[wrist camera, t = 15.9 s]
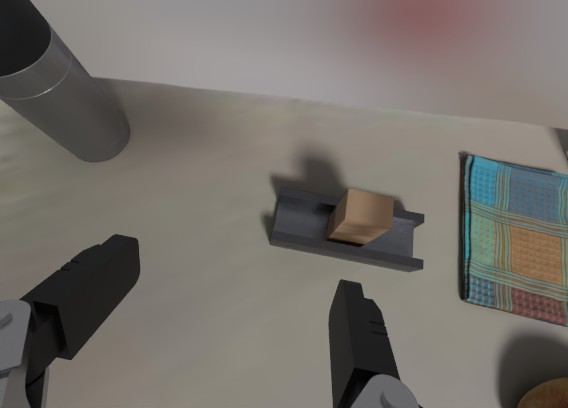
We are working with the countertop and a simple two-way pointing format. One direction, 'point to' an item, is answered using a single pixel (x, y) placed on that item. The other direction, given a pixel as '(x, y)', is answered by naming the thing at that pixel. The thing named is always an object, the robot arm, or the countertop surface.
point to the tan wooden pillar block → (360, 218)
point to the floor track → (312, 238)
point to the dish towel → (515, 239)
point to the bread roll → (547, 395)
